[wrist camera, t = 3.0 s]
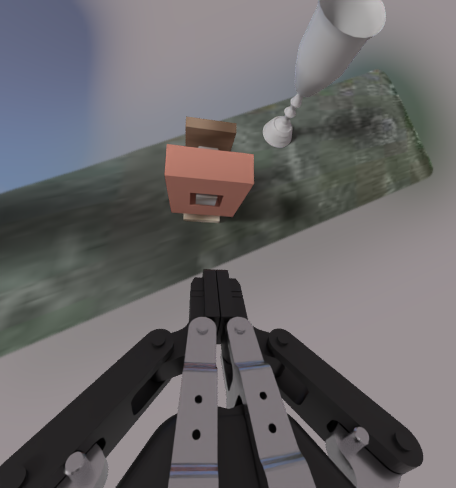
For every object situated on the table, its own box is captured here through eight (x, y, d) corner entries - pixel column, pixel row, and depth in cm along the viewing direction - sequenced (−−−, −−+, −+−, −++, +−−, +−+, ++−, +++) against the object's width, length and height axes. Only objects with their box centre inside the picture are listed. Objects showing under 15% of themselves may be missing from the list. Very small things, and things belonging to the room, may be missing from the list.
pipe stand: (183, 220, 33) (182, 183, 21) (186, 175, 34) (186, 116, 23) (218, 222, 34) (235, 188, 22) (219, 178, 35) (236, 123, 23)
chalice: (266, 108, 39) (330, -38, 22) (301, 125, 40) (392, -3, 22) (251, 142, 37) (308, 13, 20) (289, 160, 38) (376, 50, 20)
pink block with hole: (171, 212, 30) (164, 175, 20) (172, 190, 30) (167, 144, 21) (232, 216, 31) (253, 183, 21) (232, 195, 32) (253, 154, 22)
